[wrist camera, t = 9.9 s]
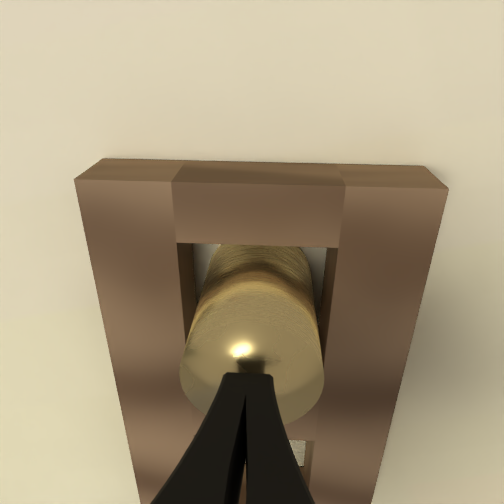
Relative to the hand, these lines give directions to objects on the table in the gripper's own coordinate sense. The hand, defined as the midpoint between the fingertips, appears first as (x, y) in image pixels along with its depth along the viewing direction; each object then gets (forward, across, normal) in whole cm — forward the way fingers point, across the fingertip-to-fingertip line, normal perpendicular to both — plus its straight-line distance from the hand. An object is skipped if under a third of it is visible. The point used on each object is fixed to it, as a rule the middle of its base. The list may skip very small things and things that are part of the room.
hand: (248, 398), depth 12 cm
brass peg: (+7, 0, 0) cm, 7 cm away
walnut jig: (+7, 0, +5) cm, 8 cm away
